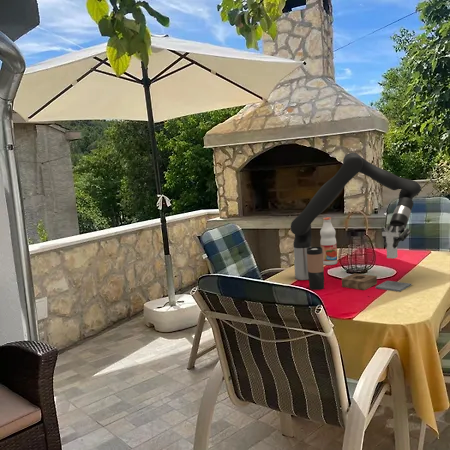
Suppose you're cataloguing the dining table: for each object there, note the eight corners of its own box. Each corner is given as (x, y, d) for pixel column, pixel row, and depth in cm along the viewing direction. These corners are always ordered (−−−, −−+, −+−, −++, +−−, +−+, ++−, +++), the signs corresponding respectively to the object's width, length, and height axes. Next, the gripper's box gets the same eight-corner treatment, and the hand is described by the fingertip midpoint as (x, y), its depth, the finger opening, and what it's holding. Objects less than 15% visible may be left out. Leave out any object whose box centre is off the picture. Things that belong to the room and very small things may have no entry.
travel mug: (325, 285, 220) (322, 246, 217) (324, 290, 213) (321, 249, 210) (309, 285, 222) (307, 247, 219) (308, 290, 215) (305, 250, 212)
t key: (382, 257, 208) (381, 232, 206) (385, 256, 210) (384, 231, 209) (398, 259, 202) (397, 233, 201) (402, 257, 204) (401, 232, 203)
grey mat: (375, 288, 208) (375, 286, 208) (387, 282, 216) (387, 280, 216) (400, 291, 199) (400, 290, 199) (411, 285, 208) (411, 283, 207)
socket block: (342, 286, 215) (341, 278, 215) (354, 280, 223) (354, 273, 223) (364, 290, 207) (364, 281, 206) (377, 284, 215) (376, 276, 214)
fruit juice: (329, 261, 272) (327, 216, 269) (341, 263, 264) (338, 217, 261) (318, 263, 267) (315, 218, 264) (329, 266, 259) (326, 219, 256)
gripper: (383, 212, 214) (372, 241, 207) (412, 212, 203) (401, 243, 197) (389, 221, 218) (378, 250, 211) (417, 222, 208) (407, 252, 201)
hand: (389, 246), depth 204 cm, fingers closed on t key, 3 cm apart
